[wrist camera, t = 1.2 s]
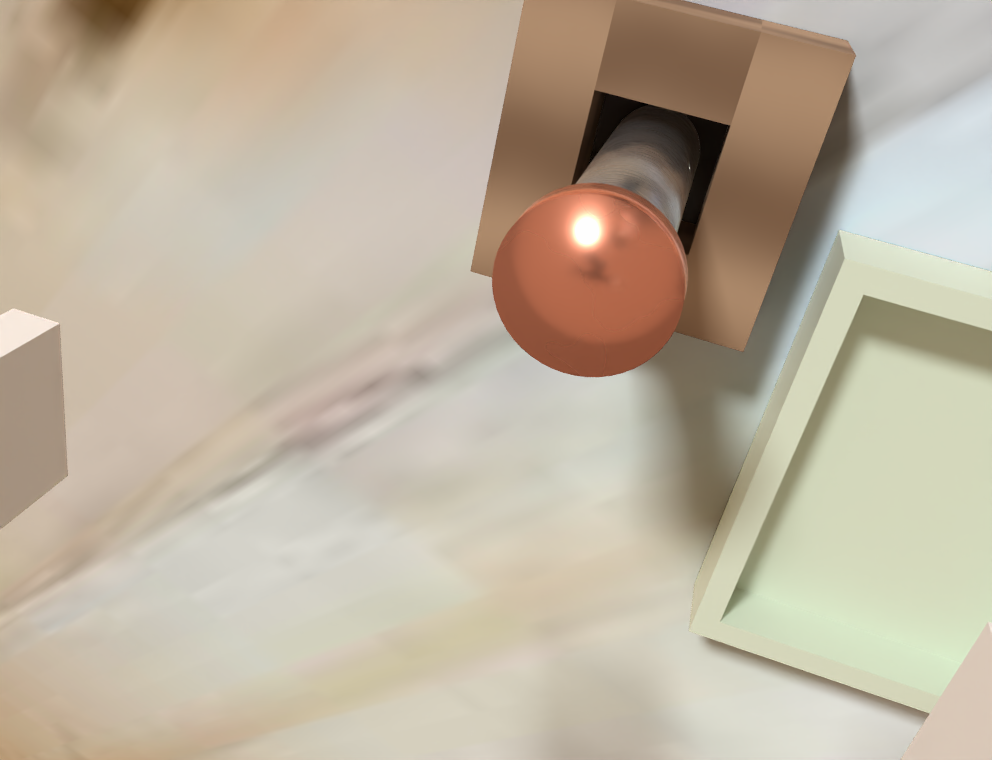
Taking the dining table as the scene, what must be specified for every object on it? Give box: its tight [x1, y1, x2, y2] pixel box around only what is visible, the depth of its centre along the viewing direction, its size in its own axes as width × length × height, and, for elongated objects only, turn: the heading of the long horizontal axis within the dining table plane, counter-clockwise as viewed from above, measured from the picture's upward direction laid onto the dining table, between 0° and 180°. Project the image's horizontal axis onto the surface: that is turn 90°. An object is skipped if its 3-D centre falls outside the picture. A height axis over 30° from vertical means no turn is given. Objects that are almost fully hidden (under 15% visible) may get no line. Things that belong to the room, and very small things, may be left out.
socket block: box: [471, 0, 856, 352], centre depth 31 cm, size 10×10×4 cm
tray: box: [689, 230, 992, 714], centre depth 34 cm, size 17×13×3 cm
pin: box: [492, 105, 700, 377], centre depth 27 cm, size 4×4×14 cm
